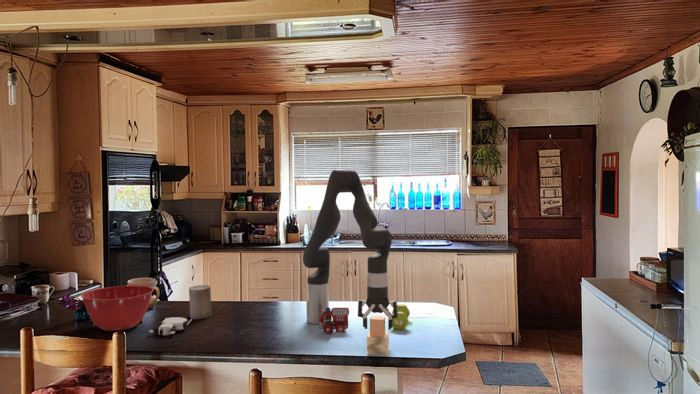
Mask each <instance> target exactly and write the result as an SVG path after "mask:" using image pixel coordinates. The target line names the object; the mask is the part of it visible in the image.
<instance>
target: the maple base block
mask: <svg viewBox="0 0 700 394" xmlns="http://www.w3.org/2000/svg"><path fill="white" fill-rule="evenodd" d="M389 334H390V333H389V331H385V335H384V337H376V336H370V331H368V334H367V336H366V352H367V354H366V355H372V354H386V355H385V356H388V355H387V352H388V349H389V348H390V344H389V343H390V341H389V339H390V338H389Z"/></svg>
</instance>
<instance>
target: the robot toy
mask: <svg viewBox="0 0 700 394" xmlns="http://www.w3.org/2000/svg"><path fill="white" fill-rule="evenodd" d="M192 320H193V319H192V318H191V319H190V320H188V319H187V317H186V318H184V317H179V316H178V317H177V316H176V317H175V316H174V317H165V319H164V320H162V321H161V322H160V324H161V325H159V327H158V326H156V327H153V328H152V329H150V330H148V332H149V333H150V334H152V333H153V334H156V333H158V335H160V336H170V335H175V334H176V331H182V330H184V329H185V328H186V327H188V325H189V324H190V323H191V322H192Z"/></svg>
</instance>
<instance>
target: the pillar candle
mask: <svg viewBox="0 0 700 394" xmlns="http://www.w3.org/2000/svg"><path fill="white" fill-rule="evenodd" d="M188 294H189V295H188V296H189V300H188V301H189V315H190V316H189V318H191V319H192V320H203V319H208V318H210V317H212V316H213V315H212V295H211V294H212V293H211V285H206V284H202V285H201V284H199V285H193V286H190V287H189V288H188Z"/></svg>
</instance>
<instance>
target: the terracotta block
mask: <svg viewBox="0 0 700 394" xmlns="http://www.w3.org/2000/svg"><path fill="white" fill-rule="evenodd" d="M369 332H370V336H376V337H384V335H385V332H386V315H385V316H383V315H381V316H380V315H371V316H370V318H369Z"/></svg>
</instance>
